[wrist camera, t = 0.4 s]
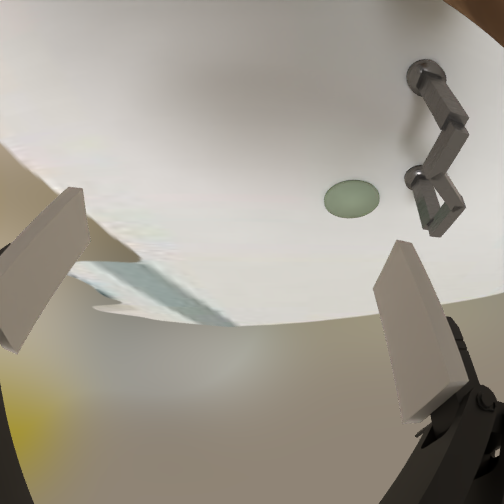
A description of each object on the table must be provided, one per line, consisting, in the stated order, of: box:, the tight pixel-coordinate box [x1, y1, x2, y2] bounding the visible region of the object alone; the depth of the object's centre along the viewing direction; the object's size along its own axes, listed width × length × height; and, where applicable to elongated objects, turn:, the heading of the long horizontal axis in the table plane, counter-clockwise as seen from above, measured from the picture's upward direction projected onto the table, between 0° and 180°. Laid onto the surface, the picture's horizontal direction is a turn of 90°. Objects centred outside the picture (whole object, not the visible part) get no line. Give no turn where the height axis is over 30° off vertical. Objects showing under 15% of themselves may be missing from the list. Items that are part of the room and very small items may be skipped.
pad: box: [324, 180, 379, 218], centre depth 32 cm, size 6×6×1 cm
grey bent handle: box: [404, 59, 469, 237], centre depth 22 cm, size 15×4×7 cm, turn 22°
